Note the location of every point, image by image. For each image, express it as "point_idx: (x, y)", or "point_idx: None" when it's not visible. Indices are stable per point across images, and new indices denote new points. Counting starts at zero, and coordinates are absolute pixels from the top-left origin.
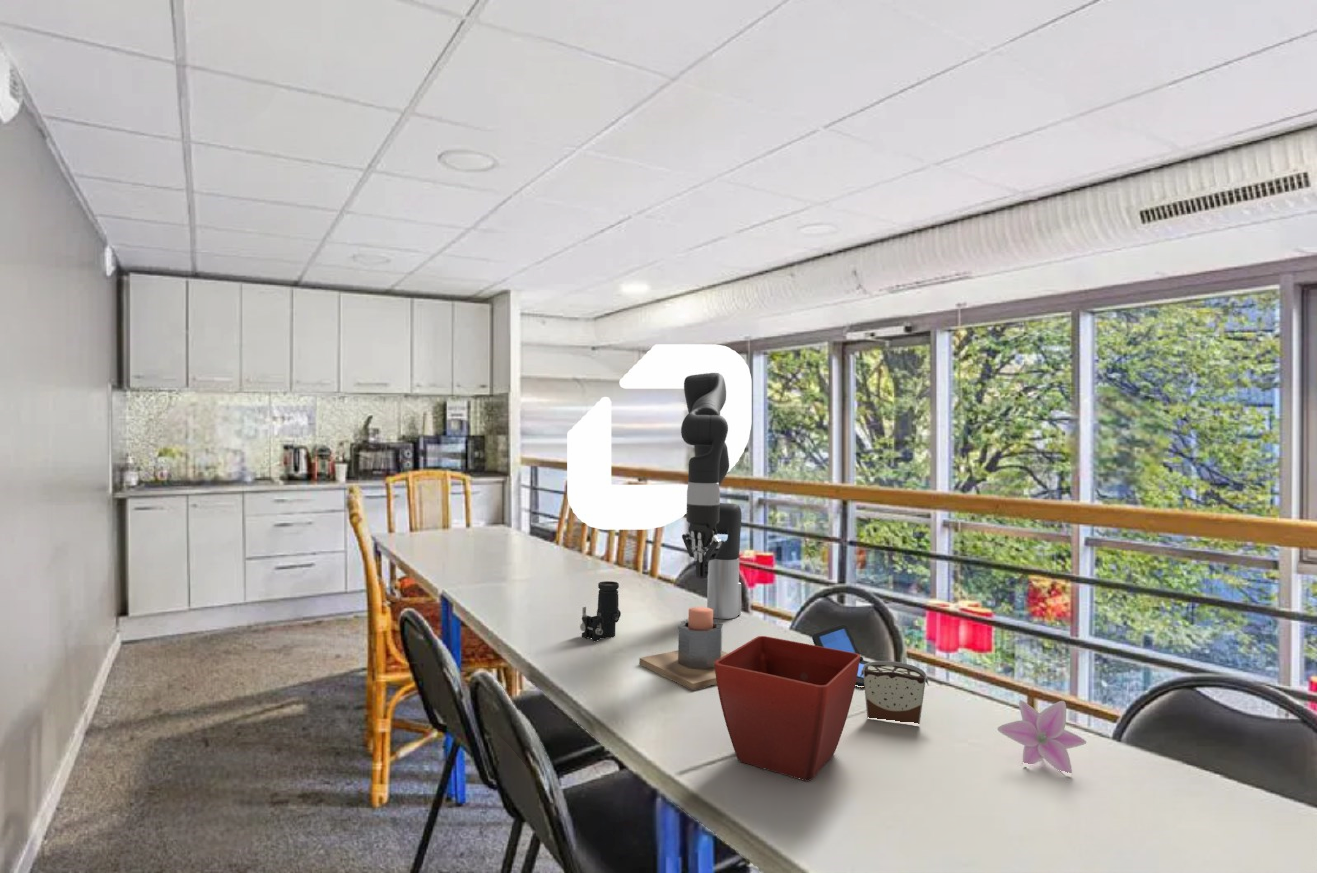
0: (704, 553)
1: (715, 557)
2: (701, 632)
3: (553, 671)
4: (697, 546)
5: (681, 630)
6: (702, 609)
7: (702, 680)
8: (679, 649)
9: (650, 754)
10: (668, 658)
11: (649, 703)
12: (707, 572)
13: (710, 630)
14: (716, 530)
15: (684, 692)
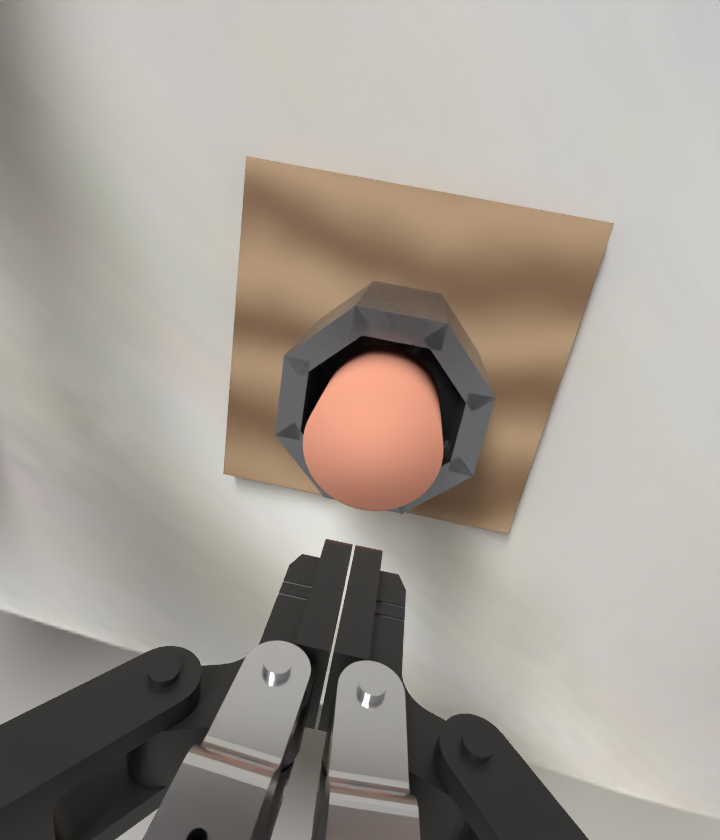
0: (288, 740)
1: (523, 767)
2: (449, 486)
3: (145, 637)
4: (74, 773)
5: None
6: (370, 435)
7: (514, 496)
8: None
9: (646, 796)
10: None
11: (473, 643)
12: (403, 607)
13: (471, 452)
14: None
15: (493, 542)
